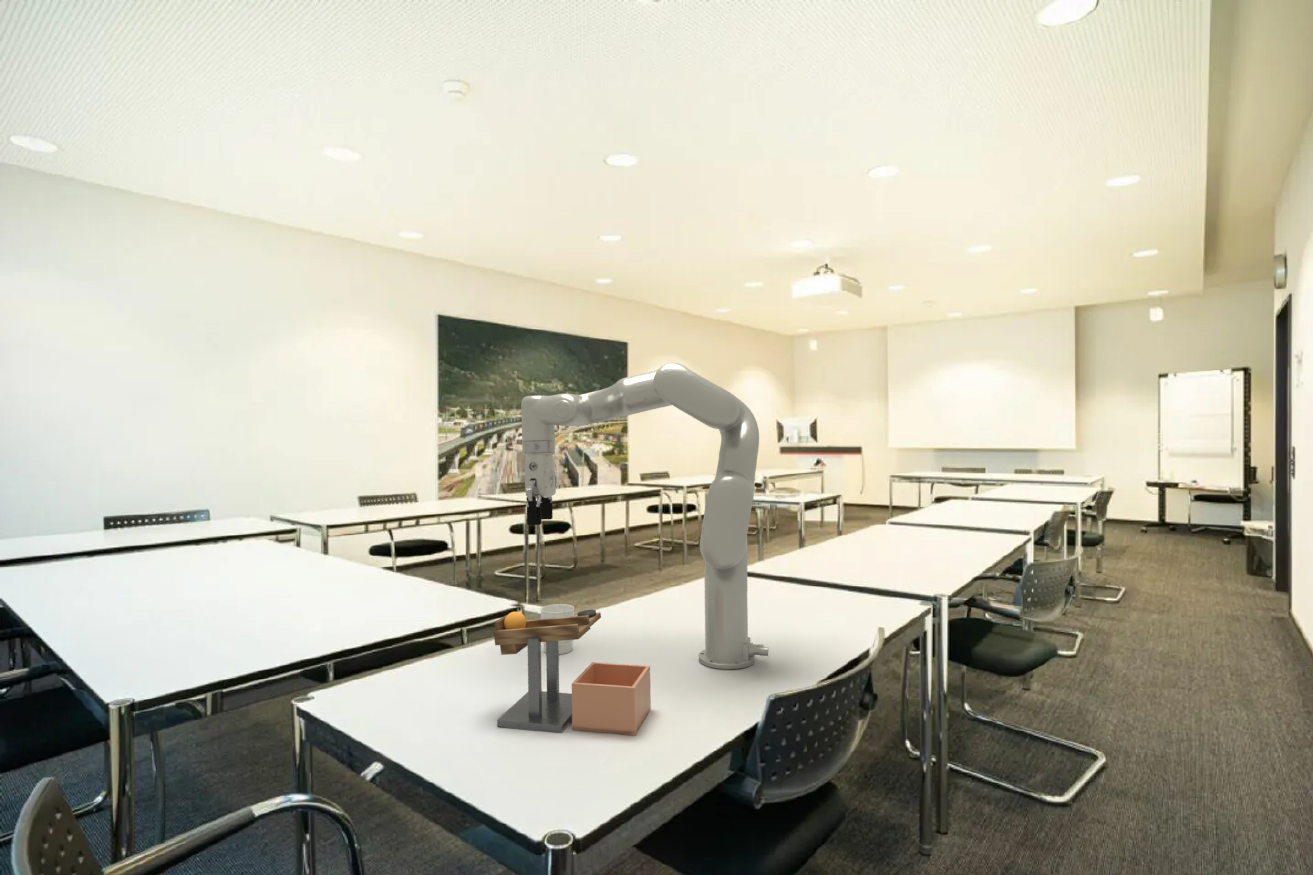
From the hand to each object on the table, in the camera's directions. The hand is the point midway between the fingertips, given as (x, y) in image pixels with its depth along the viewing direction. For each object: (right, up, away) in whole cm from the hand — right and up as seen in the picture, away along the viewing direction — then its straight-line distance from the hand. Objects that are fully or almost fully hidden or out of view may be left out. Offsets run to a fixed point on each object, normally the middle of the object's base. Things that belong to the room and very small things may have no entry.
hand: (540, 521), depth 160 cm
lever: (+8, -19, -31) cm, 37 cm away
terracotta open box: (+19, -31, -38) cm, 52 cm away
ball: (+1, -15, -34) cm, 36 cm away
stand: (+7, -31, -35) cm, 47 cm away
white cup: (+4, -31, +2) cm, 31 cm away
